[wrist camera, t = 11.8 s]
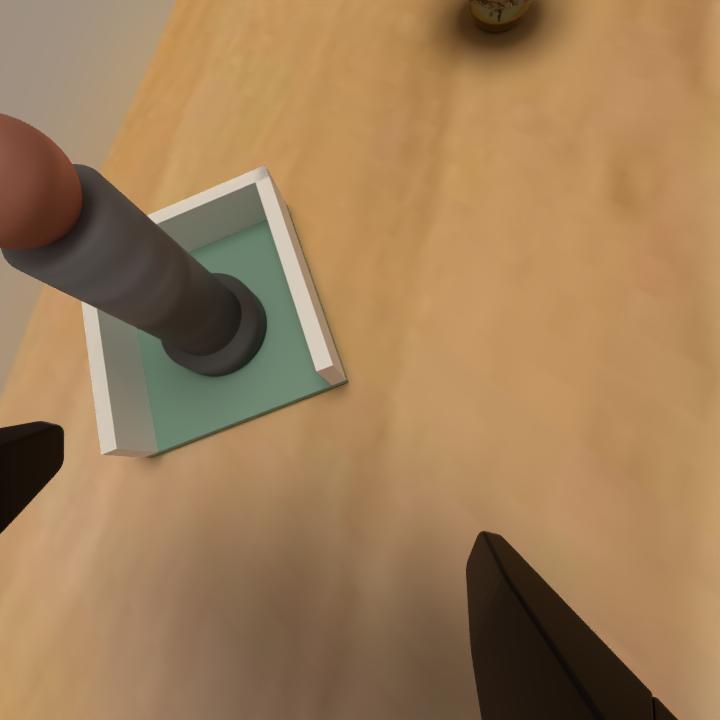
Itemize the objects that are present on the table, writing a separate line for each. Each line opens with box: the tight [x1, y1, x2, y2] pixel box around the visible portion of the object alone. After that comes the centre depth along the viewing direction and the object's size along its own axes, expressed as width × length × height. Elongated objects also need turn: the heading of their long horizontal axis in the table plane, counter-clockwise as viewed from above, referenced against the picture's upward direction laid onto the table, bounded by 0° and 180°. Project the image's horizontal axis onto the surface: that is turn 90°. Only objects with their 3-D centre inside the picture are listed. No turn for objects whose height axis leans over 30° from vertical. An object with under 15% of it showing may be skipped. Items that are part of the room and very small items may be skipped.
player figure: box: [0, 114, 267, 377], centre depth 16 cm, size 6×6×14 cm
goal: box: [81, 165, 348, 458], centre depth 22 cm, size 12×12×4 cm
